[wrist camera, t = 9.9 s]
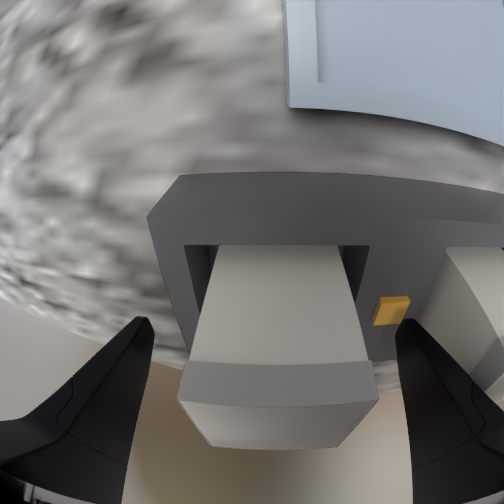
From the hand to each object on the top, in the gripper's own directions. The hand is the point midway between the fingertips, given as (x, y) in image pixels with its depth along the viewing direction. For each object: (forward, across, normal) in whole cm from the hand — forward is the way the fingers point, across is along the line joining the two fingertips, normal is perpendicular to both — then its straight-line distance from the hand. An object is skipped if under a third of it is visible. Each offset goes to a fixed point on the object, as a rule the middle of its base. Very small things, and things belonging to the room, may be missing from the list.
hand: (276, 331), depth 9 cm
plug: (+3, 0, 0) cm, 3 cm away
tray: (+4, -6, -12) cm, 14 cm away
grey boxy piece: (+4, -4, 0) cm, 6 cm away
